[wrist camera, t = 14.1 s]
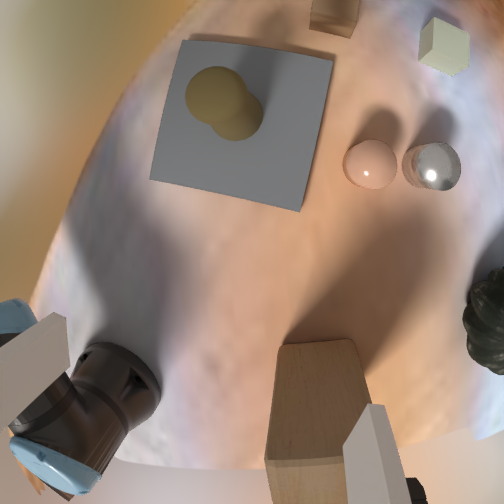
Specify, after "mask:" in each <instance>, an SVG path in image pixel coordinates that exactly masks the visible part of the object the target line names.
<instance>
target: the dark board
mask: <svg viewBox="0 0 504 504" xmlns="http://www.w3.org/2000/svg"><path fill="white" fill-rule="evenodd" d="M332 65H333V61H330V60H325V59H321V58H317V57H313V56H308V55H303V54H299V53H294V52H288V51H283V50H277V49H271V48H265V47H258V46H251V45H243V44H234V43H224V42H212V41H197V40H183V41H182V44H181V47H180V50H179V54H178V57H177V61H176V64H175V68H174V71H173V75H172V79H171V82H170V86H169V90H168V94H167V98H166V102H165V106H164V110H163V114H162V119H161V123H160V128H159V132H158V137H157V142H156V147H155V152H154V157H153V162H152V167H151V173H150V178H149V179H150V180H155V181H161V182H166V183H171V184H176V185H181V186H186V187H191V188H195V189H200V190H205V191H210V192H214V193H219V194H224V195H228V196H233V197H237V198H242V199H246V200H250V201H255V202H259V203H263V204H267V205H272V206H276V207H280V208H284V209H288V210H292V211H296V212H300V210H301V205H302V201H303V197H304V193H305V189H306V185H307V180H308V176H309V172H310V168H311V163H312V159H313V154H314V150H315V146H316V141H317V137H318V132H319V127H320V123H321V118H322V114H323V109H324V104H325V99H326V95H327V90H328V85H329V80H330V75H331V70H332ZM212 66H223V67H226V68H229V69H232V70H234V71H235V72H237V73H238V74H239V75H240V76H241V77H242V79H243V80H244V82H245V84H246V86H247V91H248V92H250V93H251V94H253V95H254V96H255V97H256V98H257V99H258V100H259V102H260V104H261V106H262V109H263V120H262V124H261V125H260V127H259V129H258V131H257V132H255V133H254V134H253V135H252V136H251V137H249V138H247V139H245V140H240V141H230V140H226V139H224V138H222V137H220V136H219V135H218V134H217V133H216V132H215V131H214V130H213V128H212V127H211V125H209V124H206V123H203V122H201V121H199V120H197V119H196V118H195V117H194V116H193V115H192V114H191V113H190V111H189V109H188V107H187V105H186V100H185V92H186V87H187V85H188V84H189V82H190V80H191V79H192V78H193V77H194V76H195V75H196V74H197V73H198V72H199V71H201V70H203V69H205V68H208V67H212Z"/></svg>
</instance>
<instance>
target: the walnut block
mask: <svg viewBox="0 0 504 504" xmlns="http://www.w3.org/2000/svg"><path fill="white" fill-rule="evenodd" d="M359 1H360V0H313V3H312V8H311V15H310V27H309V29H311V30H315V31H320V32H325V33H329V34H333V35H338V36H342V37H346V38H349V39H350V37H351V35H352V32H353V30H354V27H355V25H356V22H357V16H358V9H359Z"/></svg>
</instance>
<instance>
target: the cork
mask: <svg viewBox="0 0 504 504" xmlns="http://www.w3.org/2000/svg"><path fill="white" fill-rule="evenodd" d="M185 100H186V105H187V107H188V109H189V111H190V113H191V114H192V115H193V116H194V117H195V118H196V119H197V120H199V121H201V122H203V123H206V124H209V125H211V127H212V128H213V130H214V131H215V132H216V133H217V134H218V135H219V136H220V137H222V138H224V139H226V140H230V141H240V140H245V139H247V138H249V137H251V136H252V135H253V134H254V133H255V132H257V131H258V129H259V127H260V125H261V124H262V120H263V109H262V106H261V104H260V102H259V100H258V99H257V98H256V97H255V96H254V95H253V94H251V93H250V92H248V91H247V86H246V84H245V82H244V80H243V79H242V77H241V76H240V75H239V74H238V73H237V72H235V71H234V70H232V69H229V68H226V67H223V66H212V67H208V68H205V69H203V70H201V71H199V72H198V73H197V74H196V75H195V76H194V77H193V78H192V79H191V80H190V82H189V84H188V85H187V87H186V92H185Z"/></svg>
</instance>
